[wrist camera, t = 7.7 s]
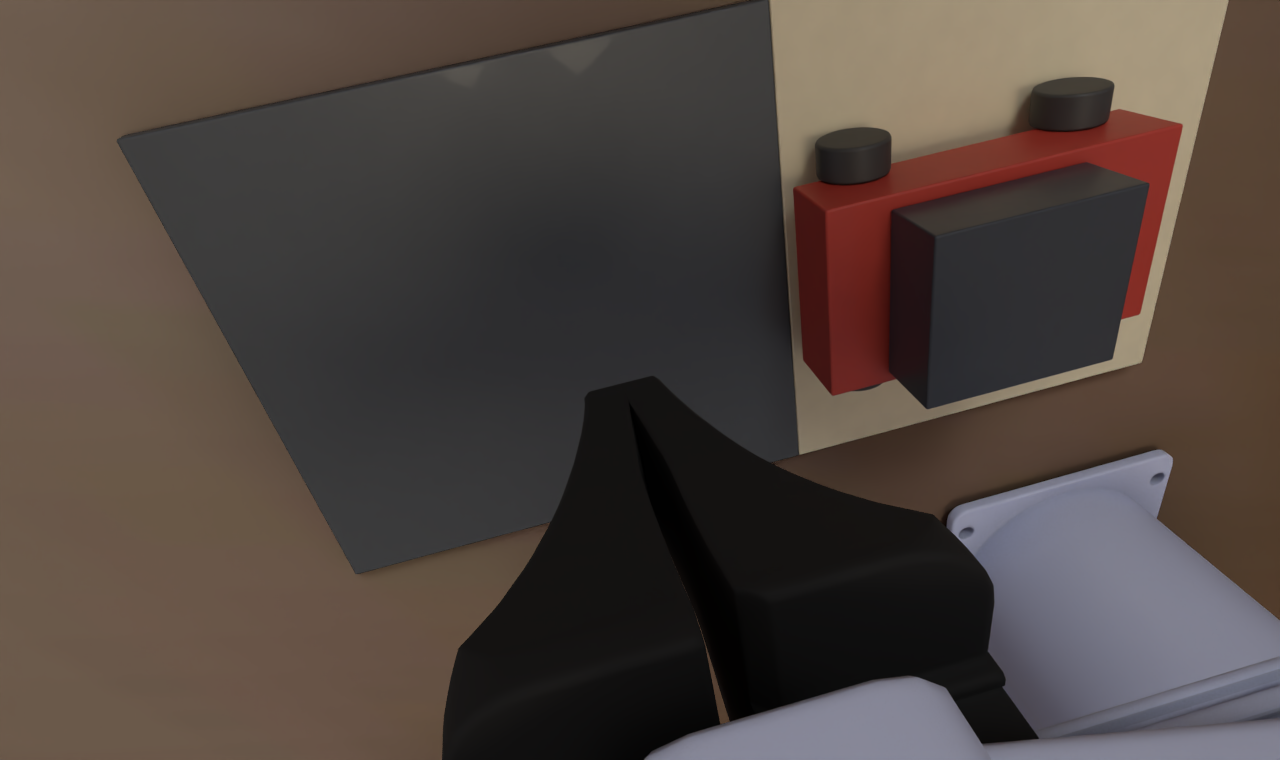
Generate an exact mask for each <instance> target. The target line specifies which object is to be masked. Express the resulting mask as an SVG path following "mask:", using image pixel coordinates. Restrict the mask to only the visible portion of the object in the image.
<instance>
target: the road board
mask: <svg viewBox="0 0 1280 760" xmlns="http://www.w3.org/2000/svg"><path fill="white" fill-rule="evenodd" d="M1228 1H1229V0H751V1H746V2H741V3H737V4H732V5H727V6H723V7H718V8H714V9H709V10H704V11H700V12H695V13H690V14H686V15H681V16H676V17H672V18H667V19H662V20H658V21H653V22H648V23H644V24H639V25H635V26H630V27H625V28H621V29H616V30H611V31H607V32H602V33H597V34H593V35H588V36H583V37H579V38H574V39H570V40H565V41H560V42H556V43H551V44H546V45H542V46H537V47H532V48H528V49H523V50H518V51H514V52H509V53H504V54H500V55H495V56H491V57H486V58H481V59H477V60H472V61H467V62H463V63H458V64H453V65H449V66H444V67H439V68H435V69H430V70H426V71H421V72H416V73H412V74H407V75H402V76H398V77H393V78H388V79H384V80H379V81H374V82H370V83H365V84H361V85H356V86H351V87H347V88H342V89H337V90H333V91H328V92H323V93H319V94H314V95H309V96H305V97H300V98H295V99H291V100H286V101H282V102H277V103H272V104H268V105H263V106H258V107H254V108H249V109H244V110H240V111H235V112H230V113H226V114H221V115H217V116H212V117H207V118H203V119H198V120H193V121H189V122H184V123H179V124H175V125H170V126H165V127H161V128H156V129H152V130H147V131H142V132H138V133H133V134H128V135H124V136H122V137H121V138H119V139H117V143H118V144H119V146H120V148H121V150H122V152H123V154H124V155H125V157H126V159H127V161H128V163H129V164H130V166H131V168H132V170H133V172H134V173H135V175H136V177H137V179H138V181H139V182H140V184H141V186H142V188H143V190H144V192H145V193H146V195H147V197H148V199H149V201H150V202H151V204H152V206H153V208H154V210H155V211H156V213H157V215H158V217H159V219H160V221H161V222H162V224H163V226H164V228H165V230H166V231H167V233H168V235H169V237H170V239H171V240H172V242H173V244H174V246H175V248H176V249H177V251H178V253H179V255H180V257H181V259H182V260H183V262H184V264H185V266H186V268H187V269H188V271H189V273H190V275H191V277H192V278H193V280H194V282H195V284H196V286H197V287H198V289H199V291H200V293H201V295H202V297H203V298H204V300H205V302H206V304H207V306H208V307H209V309H210V311H211V313H212V315H213V316H214V318H215V320H216V322H217V324H218V326H219V327H220V329H221V331H222V333H223V335H224V336H225V338H226V340H227V342H228V344H229V345H230V347H231V349H232V351H233V353H234V354H235V356H236V358H237V360H238V362H239V364H240V365H241V367H242V369H243V371H244V373H245V374H246V376H247V378H248V380H249V382H250V383H251V385H252V387H253V389H254V391H255V393H256V394H257V396H258V398H259V400H260V402H261V403H262V405H263V407H264V409H265V411H266V412H267V414H268V416H269V418H270V420H271V421H272V423H273V425H274V427H275V429H276V431H277V432H278V434H279V436H280V438H281V440H282V441H283V443H284V445H285V447H286V449H287V450H288V452H289V454H290V456H291V458H292V459H293V461H294V463H295V465H296V467H297V469H298V470H299V472H300V474H301V476H302V478H303V479H304V481H305V483H306V485H307V487H308V488H309V490H310V492H311V494H312V496H313V498H314V499H315V501H316V503H317V505H318V507H319V508H320V510H321V512H322V514H323V516H324V517H325V519H326V521H327V523H328V525H329V526H330V528H331V530H332V532H333V534H334V536H335V537H336V539H337V541H338V543H339V545H340V546H341V548H342V550H343V552H344V554H345V555H346V557H347V559H348V561H349V563H350V564H351V566H352V568H353V570H354V572H355V574H360V573H363V572H367V571H371V570H374V569H378V568H382V567H386V566H389V565H393V564H397V563H400V562H404V561H408V560H412V559H415V558H419V557H423V556H426V555H430V554H434V553H437V552H441V551H445V550H449V549H452V548H456V547H460V546H463V545H467V544H471V543H475V542H478V541H482V540H486V539H489V538H493V537H497V536H501V535H504V534H508V533H512V532H515V531H519V530H523V529H527V528H530V527H534V526H538V525H541V524H545V523H549V522H551V521H552V518H553V516H554V514H555V512H556V510H557V508H558V505H559V503H560V501H561V498H562V496H563V493H564V491H565V488H566V485H567V482H568V479H569V476H570V473H571V470H572V467H573V464H574V461H575V457H576V453H577V449H578V445H579V441H580V437H581V432H582V427H583V421H584V411H585V402H584V398H585V396H586V395H587V394H588V392H590V391H594V390H598V389H601V388H605V387H609V386H613V385H617V384H621V383H625V382H629V381H633V380H637V379H641V378H645V377H649V376H655V377H656V378H658V379H660V380H661V382H662V383H663V384H664V385H665V386H666V387H667V388H668V389H669V390H670V391H671V392H672V393H673V394H674V395H676V396H677V397H678V398H679V399H680V400H681V401H682V402H683V403H684V404H686V405H687V406H688V407H689V408H690V409H691V410H693V411H694V412H695V413H696V414H698V415H699V416H700V417H701V418H703V419H704V420H705V421H707V422H708V423H709V424H710V425H712V426H713V427H714V428H716V429H717V430H718V431H720V432H721V433H723V434H724V435H725V436H727V437H728V438H730V439H731V440H733V441H734V442H736V443H738V444H739V445H741V446H742V447H744V448H745V449H747V450H749V451H750V452H752V453H753V454H755V455H757V456H759V457H760V458H762V459H764V460H766V461H768V462H770V463H771V462H775V461H779V460H783V459H786V458H790V457H794V456H797V455H799V454H800V455H801V454H805V453H809V452H812V451H816V450H820V449H823V448H827V447H831V446H834V445H838V444H842V443H846V442H849V441H853V440H857V439H860V438H864V437H868V436H872V435H875V434H879V433H883V432H886V431H890V430H894V429H898V428H901V427H905V426H909V425H912V424H916V423H920V422H924V421H927V420H931V419H935V418H938V417H942V416H946V415H949V414H953V413H957V412H961V411H964V410H968V409H972V408H975V407H979V406H983V405H987V404H990V403H994V402H998V401H1001V400H1005V399H1009V398H1013V397H1016V396H1020V395H1024V394H1027V393H1031V392H1035V391H1039V390H1042V389H1046V388H1050V387H1053V386H1057V385H1061V384H1064V383H1068V382H1072V381H1076V380H1079V379H1083V378H1087V377H1090V376H1094V375H1098V374H1102V373H1105V372H1109V371H1113V370H1116V369H1120V368H1124V367H1128V366H1131V365H1135V364H1139V363H1141V362H1142V359H1143V355H1144V351H1145V347H1146V342H1147V338H1148V334H1149V330H1150V326H1151V322H1152V317H1153V313H1154V309H1155V305H1156V301H1157V297H1158V292H1159V288H1160V284H1161V280H1162V276H1163V272H1164V267H1165V263H1166V259H1167V255H1168V251H1169V247H1170V242H1171V238H1172V234H1173V230H1174V226H1175V222H1176V217H1177V213H1178V209H1179V205H1180V201H1181V197H1182V192H1183V188H1184V184H1185V180H1186V176H1187V172H1188V167H1189V163H1190V159H1191V155H1192V151H1193V147H1194V142H1195V138H1196V134H1197V130H1198V126H1199V122H1200V117H1201V113H1202V109H1203V105H1204V101H1205V97H1206V93H1207V88H1208V84H1209V80H1210V76H1211V72H1212V68H1213V63H1214V59H1215V55H1216V51H1217V47H1218V43H1219V38H1220V34H1221V30H1222V26H1223V22H1224V18H1225V13H1226V9H1227V5H1228ZM1071 77H1097V78H1103V79H1107V80H1110V81H1112V82H1113V83H1114V86H1115V87H1114V93H1113V99H1112V105H1111V110H1110V111H1113V110H1117V109H1122V110H1126V111H1130V112H1135V113H1139V114H1143V115H1147V116H1151V117H1156V118H1160V119H1164V120H1168V121H1172V122H1176V123H1181V124H1183V128H1182V133H1181V137H1180V142H1179V146H1178V150H1177V155H1176V159H1175V164H1174V168H1173V172H1172V177H1171V181H1170V186H1169V190H1168V194H1167V199H1166V203H1165V208H1164V212H1163V216H1162V221H1161V225H1160V230H1159V234H1158V238H1157V243H1156V247H1155V252H1154V256H1153V260H1152V265H1151V269H1150V274H1149V278H1148V282H1147V287H1146V291H1145V296H1144V300H1143V304H1142V309H1141V313H1140V314H1139V315H1137V316H1133V317H1129V318H1125V319H1121V323H1120V327H1119V332H1118V337H1117V341H1116V346H1115V351H1114V356H1113V359H1112V360H1109V361H1106V362H1102V363H1098V364H1095V365H1091V366H1087V367H1083V368H1080V369H1076V370H1072V371H1069V372H1065V373H1061V374H1058V375H1054V376H1050V377H1046V378H1043V379H1039V380H1035V381H1032V382H1028V383H1024V384H1020V385H1017V386H1013V387H1009V388H1006V389H1002V390H998V391H994V392H991V393H987V394H983V395H980V396H976V397H972V398H969V399H965V400H961V401H957V402H954V403H950V404H946V405H943V406H939V407H935V408H931V409H926V408H925V407H924V406H923V405H922V404H921V403H920V402H919V401H918V400H917V399H916V398H915V397H914V396H913V395H912V394H911V393H910V392H909V391H908V390H907V389H906V388H905V387H904V386H903V385H902V384H901V383H900V382H899V381H898V380H897V379H895V380H891V381H888V382H884V383H882V384H881V385H879V386H878V387H876V388H873V389H870V390H865V391H850V392H846V393H842V394H839V395H835V396H832V395H831V394H830V393H829V392H828V390H827V389H826V388H825V387H824V385H823V384H822V383H821V382H820V380H819V379H818V378H817V377H816V376H815V374H814V373H813V372H812V371H811V369H810V368H809V367H808V366H807V365H806V363H805V362H804V361H803V349H802V333H801V316H800V299H799V282H798V265H797V248H796V231H795V214H794V197H793V188H794V187H796V186H801V185H805V184H809V183H813V182H817V181H821V180H819V179H818V177H817V175H816V160H815V143H816V141H817V140H818V139H819V138H820V137H822V136H824V135H826V134H828V133H831V132H834V131H838V130H843V129H849V128H859V127H871V128H879V129H883V130H886V131H888V132H889V133H890V134H891V137H892V147H891V164H892V163H896V162H901V161H905V160H909V159H913V158H917V157H921V156H926V155H930V154H934V153H938V152H942V151H946V150H951V149H955V148H959V147H963V146H967V145H971V144H976V143H980V142H984V141H988V140H992V139H996V138H1001V137H1005V136H1009V135H1013V134H1017V133H1021V132H1026V131H1030V130H1034V129H1036V128H1033V127H1031V126H1030V125H1029V122H1028V119H1029V110H1030V101H1031V93H1032V90H1033V88H1034V87H1035V86H1036V85H1038V84H1041V83H1044V82H1047V81H1051V80H1056V79H1062V78H1071Z"/></svg>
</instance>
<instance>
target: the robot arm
mask: <svg viewBox="0 0 1280 760" xmlns="http://www.w3.org/2000/svg"><path fill="white" fill-rule="evenodd" d="M584 402H585V411H584V421H583V427H582V432H581V437H580V441H579V445H578V449H577V453H576V457H575V461H574V464H573V467H572V470H571V473H570V476H569V479H568V482H567V485H566V488H565V491H564V493H563V496H562V498H561V501H560V503H559V505H558V508H557V510H556V512H555V514H554V516H553V518H552V521H551V523H550V525H549V527H548V529H547V531H546V532H545V534H544V536H543V538H542V540H541V541H540V543H539V545H538V547H537V549H536V550H535V552H534V554H533V556H532V557H531V559H530V560H529V562H528V564H527V565H526V567H525V568H524V570H523V571H522V573H521V574H520V575H519V577H518V578H517V580H516V581H515V582H514V584H513V585H512V587H511V588H510V589H509V591H508V592H507V594H506V595H505V596H504V598H503V599H502V601H501V602H500V603H499V604H498V606H497V607H496V608H495V609H494V610H493V612H492V613H491V614H490V615H489V616H488V617H487V618H486V619H485V620H484V621H483V623H482V624H481V625H480V626H479V627H478V628H477V629H476V630H475V631H474V633H473V634H472V635H471V636H470V637H469V638H468V639H467V640H466V641H465V642H464V643H463V644H462V645H461V646H460V648H459V649H458V652H457V656H456V660H455V664H454V668H453V672H452V676H451V680H450V685H449V691H448V696H447V701H446V708H445V714H444V725H443V750H442V760H1280V620H1279V619H1277V618H1276V617H1275V616H1274V615H1272V614H1271V613H1270V612H1269V611H1268V610H1266V609H1265V608H1264V607H1263V606H1262V605H1260V604H1259V603H1258V602H1257V601H1255V600H1254V599H1253V598H1252V597H1251V596H1249V595H1248V594H1247V593H1246V592H1245V591H1243V590H1242V589H1241V588H1240V587H1239V586H1237V585H1236V584H1235V583H1234V582H1232V581H1231V580H1230V579H1229V578H1228V577H1226V576H1225V575H1224V574H1223V573H1222V572H1220V571H1219V570H1218V569H1217V568H1215V567H1214V566H1213V565H1212V564H1211V563H1209V562H1208V561H1207V560H1206V559H1205V558H1203V557H1202V556H1201V555H1200V554H1198V553H1197V552H1196V551H1195V550H1194V549H1192V548H1191V547H1190V546H1189V545H1188V544H1186V543H1185V542H1184V541H1183V540H1182V539H1180V538H1179V537H1178V536H1177V535H1175V534H1174V533H1173V532H1172V531H1171V530H1169V529H1168V528H1167V527H1166V526H1165V525H1163V524H1162V523H1161V522H1160V521H1158V520H1157V516H1158V512H1159V509H1160V505H1161V502H1162V498H1163V495H1164V492H1165V488H1166V485H1167V481H1168V478H1169V475H1170V471H1171V468H1172V464H1173V458H1172V457H1171V456H1170V455H1169V454H1168V453H1166V452H1165V451H1163V450H1153V451H1150V452H1146V453H1143V454H1139V455H1136V456H1132V457H1128V458H1125V459H1121V460H1118V461H1114V462H1111V463H1107V464H1104V465H1100V466H1096V467H1093V468H1089V469H1086V470H1082V471H1079V472H1075V473H1071V474H1068V475H1064V476H1061V477H1057V478H1054V479H1050V480H1046V481H1043V482H1039V483H1036V484H1032V485H1029V486H1025V487H1022V488H1018V489H1014V490H1011V491H1007V492H1004V493H1000V494H997V495H993V496H989V497H986V498H982V499H979V500H975V501H972V502H968V503H965V504H961V505H959V506H956V507H955V508H954V509H952V511H951V512H950V513H949V515H948V518H947V527H945V526H944V525H943V524H942V523H941V522H940V521H939V520H938V519H937V518H936V517H935V516H934V515H933V514H928V513H923V512H919V511H914V510H909V509H904V508H900V507H895V506H890V505H886V504H881V503H877V502H873V501H870V500H866V499H863V498H859V497H856V496H853V495H849V494H846V493H843V492H840V491H837V490H834V489H831V488H828V487H825V486H822V485H820V484H817V483H815V482H812V481H810V480H807V479H805V478H802V477H800V476H797V475H795V474H793V473H790V472H788V471H786V470H784V469H782V468H780V467H778V466H776V465H774V464H772V463H770V462H768V461H766V460H764V459H762V458H760V457H759V456H757V455H755V454H753V453H752V452H750V451H749V450H747V449H745V448H744V447H742V446H741V445H739V444H738V443H736V442H734V441H733V440H731V439H730V438H728V437H727V436H725V435H724V434H723V433H721V432H720V431H718V430H717V429H716V428H714V427H713V426H712V425H710V424H709V423H708V422H707V421H705V420H704V419H703V418H701V417H700V416H699V415H698V414H696V413H695V412H694V411H693V410H691V409H690V408H689V407H688V406H687V405H686V404H684V403H683V402H682V401H681V400H680V399H679V398H678V397H677V396H676V395H674V394H673V393H672V392H671V391H670V390H669V389H668V388H667V387H666V386H665V385H664V384H663V383H662V382H661V380H660V379H658V378H656V377H655V376H649V377H645V378H641V379H637V380H633V381H629V382H625V383H621V384H617V385H613V386H609V387H605V388H601V389H598V390H594V391H590V392H588V394H587V395H586V396H585V398H584ZM671 557H672V558H671ZM673 562H674V563H673ZM674 564H675V565H674ZM676 569H677V570H676ZM677 571H678V572H677ZM679 576H680V577H679ZM680 578H681V579H680ZM682 583H683V584H682ZM683 585H684V586H683ZM684 588H685V589H684ZM685 590H686V591H685ZM686 592H687V593H686ZM689 599H690V600H689ZM694 611H695V612H694ZM695 614H696V615H695ZM696 617H697V618H696ZM697 619H698V621H697ZM698 622H699V624H698ZM699 625H700V627H701V630H702V633H701V630H700V627H699ZM702 634H703V636H702ZM703 637H704V640H705V643H706V646H707V650H708V653H709V656H710V659H711V662H712V666H713V669H714V672H715V675H716V678H717V682H718V685H719V688H720V691H721V695H722V698H723V701H724V704H725V708H726V711H727V714H728V717H729V721H730V722H727V723H724V724H720V721H719V716H718V710H717V705H716V700H715V695H714V690H713V684H712V679H711V674H710V669H709V663H708V658H707V653H706V648H705V644H704V640H703Z"/></svg>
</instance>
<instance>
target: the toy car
mask: <svg viewBox="0 0 1280 760" xmlns="http://www.w3.org/2000/svg"><path fill="white" fill-rule="evenodd" d="M1114 87H1115V86H1114V83H1113V82H1112V81H1110V80H1107V79H1103V78H1097V77H1071V78H1062V79H1056V80H1051V81H1047V82H1044V83H1041V84H1038V85H1036V86H1035V87H1034V88H1033V90H1032V93H1031V101H1030V110H1029V119H1028V122H1029V125H1030V126H1031V127H1033V128H1036V129H1034V130H1030V131H1026V132H1021V133H1017V134H1013V135H1009V136H1005V137H1001V138H996V139H992V140H988V141H984V142H980V143H976V144H971V145H967V146H963V147H959V148H955V149H951V150H946V151H942V152H938V153H934V154H930V155H926V156H921V157H917V158H913V159H909V160H905V161H901V162H896V163H892V164H891V147H892V137H891V134H890V133H889V132H888V131H886V130H883V129H879V128H871V127H859V128H849V129H843V130H838V131H834V132H831V133H828V134H826V135H824V136H822V137H820V138H819V139H818V140H817V141H816V143H815V160H816V175H817V177H818V179H819V180H821V181H817V182H813V183H809V184H805V185H801V186H796V187H794V188H793V197H794V214H795V231H796V248H797V265H798V282H799V299H800V316H801V333H802V349H803V361H804V362H805V363H806V365H807V366H808V367H809V368H810V369H811V371H812V372H813V373H814V374H815V376H816V377H817V378H818V379H819V380H820V382H821V383H822V384H823V385H824V387H825V388H826V389H827V390H828V392H829V393H830V394H831V395H832V396H835V395H839V394H842V393H846V392H850V391H865V390H870V389H873V388H876V387H878V386H879V385H881V384H882V383H884V382H888V381H891V380H895V379H897V380H898V381H899V382H900V383H901V384H902V385H903V386H904V387H905V388H906V389H907V390H908V391H909V392H910V393H911V394H912V395H913V396H914V397H915V398H916V399H917V400H918V401H919V402H920V403H921V404H922V405H923V406H924V407H925V408H926V409H931V408H935V407H939V406H943V405H946V404H950V403H954V402H957V401H961V400H965V399H969V398H972V397H976V396H980V395H983V394H987V393H991V392H994V391H998V390H1002V389H1006V388H1009V387H1013V386H1017V385H1020V384H1024V383H1028V382H1032V381H1035V380H1039V379H1043V378H1046V377H1050V376H1054V375H1058V374H1061V373H1065V372H1069V371H1072V370H1076V369H1080V368H1083V367H1087V366H1091V365H1095V364H1098V363H1102V362H1106V361H1109V360H1112V359H1113V356H1114V351H1115V346H1116V341H1117V337H1118V332H1119V327H1120V323H1121V319H1125V318H1129V317H1133V316H1137V315H1139V314H1140V313H1141V309H1142V304H1143V300H1144V296H1145V291H1146V287H1147V282H1148V278H1149V274H1150V269H1151V265H1152V260H1153V256H1154V252H1155V247H1156V243H1157V238H1158V234H1159V230H1160V225H1161V221H1162V216H1163V212H1164V208H1165V203H1166V199H1167V194H1168V190H1169V186H1170V181H1171V177H1172V172H1173V168H1174V164H1175V159H1176V155H1177V150H1178V146H1179V142H1180V137H1181V133H1182V128H1183V124H1181V123H1176V122H1172V121H1168V120H1164V119H1160V118H1156V117H1151V116H1147V115H1143V114H1139V113H1135V112H1130V111H1126V110H1122V109H1117V110H1113V111H1110V110H1111V105H1112V99H1113V93H1114Z"/></svg>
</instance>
